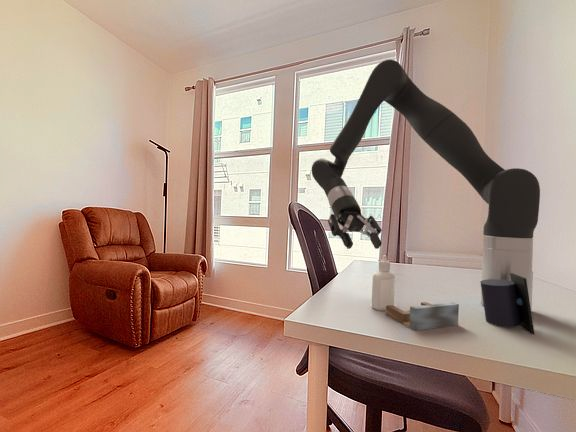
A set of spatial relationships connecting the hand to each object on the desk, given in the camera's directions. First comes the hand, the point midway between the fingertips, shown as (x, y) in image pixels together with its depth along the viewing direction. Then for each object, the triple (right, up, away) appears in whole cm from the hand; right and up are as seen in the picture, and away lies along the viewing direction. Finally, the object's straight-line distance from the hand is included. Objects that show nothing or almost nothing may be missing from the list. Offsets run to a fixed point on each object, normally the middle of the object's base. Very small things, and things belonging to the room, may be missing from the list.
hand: (364, 246), depth 67 cm
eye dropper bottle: (+2, -13, -7) cm, 15 cm away
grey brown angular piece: (+7, -13, -14) cm, 21 cm away
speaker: (+24, -14, -15) cm, 31 cm away
